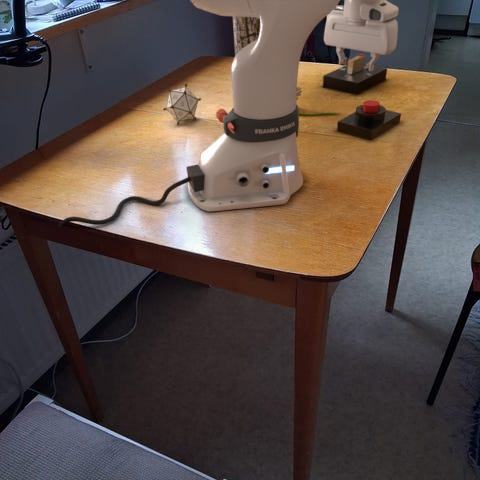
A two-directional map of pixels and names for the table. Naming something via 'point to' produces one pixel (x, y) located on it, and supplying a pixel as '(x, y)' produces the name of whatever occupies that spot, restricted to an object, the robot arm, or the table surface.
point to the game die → (182, 104)
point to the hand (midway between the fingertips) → (355, 67)
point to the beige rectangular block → (356, 64)
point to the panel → (354, 79)
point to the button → (371, 106)
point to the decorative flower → (311, 114)
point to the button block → (368, 123)
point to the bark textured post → (245, 31)
